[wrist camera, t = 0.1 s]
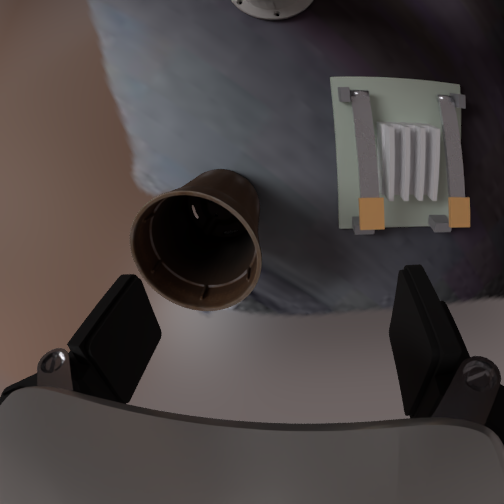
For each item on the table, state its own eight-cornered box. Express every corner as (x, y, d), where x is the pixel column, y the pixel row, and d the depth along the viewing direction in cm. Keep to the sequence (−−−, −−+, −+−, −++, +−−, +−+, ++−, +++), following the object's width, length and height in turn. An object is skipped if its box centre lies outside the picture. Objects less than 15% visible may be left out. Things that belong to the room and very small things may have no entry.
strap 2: (433, 95, 33) (438, 91, 32) (452, 97, 33) (457, 94, 31) (445, 226, 36) (451, 227, 35) (464, 225, 36) (470, 227, 34)
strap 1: (346, 91, 36) (347, 87, 34) (369, 91, 35) (371, 87, 34) (358, 228, 39) (360, 230, 37) (381, 227, 38) (384, 229, 37)
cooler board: (329, 77, 37) (334, 75, 31) (456, 84, 33) (477, 86, 27) (338, 226, 48) (342, 245, 42) (450, 223, 44) (466, 241, 38)
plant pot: (290, 232, 50) (283, 294, 36) (205, 261, 55) (174, 322, 41) (246, 139, 43) (219, 166, 30) (159, 181, 49) (107, 223, 35)
